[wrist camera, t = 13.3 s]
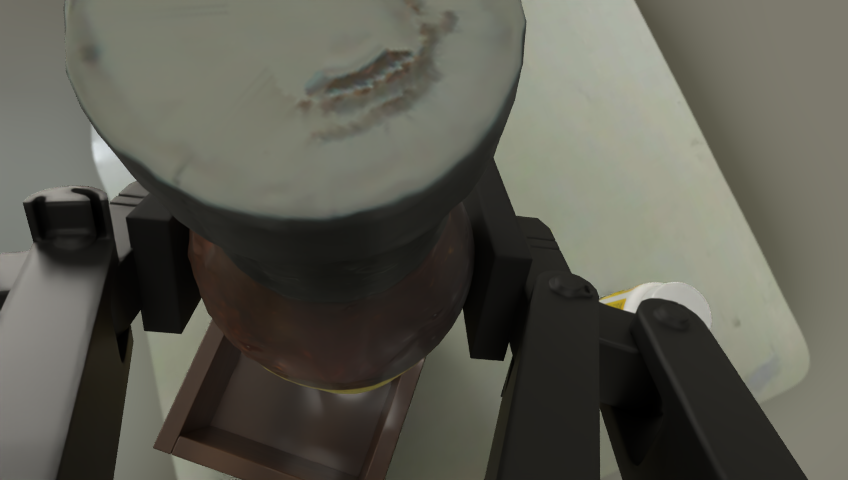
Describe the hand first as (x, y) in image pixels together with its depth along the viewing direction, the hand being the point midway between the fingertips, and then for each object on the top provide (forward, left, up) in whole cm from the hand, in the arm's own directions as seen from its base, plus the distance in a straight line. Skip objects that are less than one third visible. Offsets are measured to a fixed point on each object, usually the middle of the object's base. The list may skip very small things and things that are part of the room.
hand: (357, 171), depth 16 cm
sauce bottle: (-1, +3, -9) cm, 9 cm away
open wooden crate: (0, +7, -22) cm, 23 cm away
